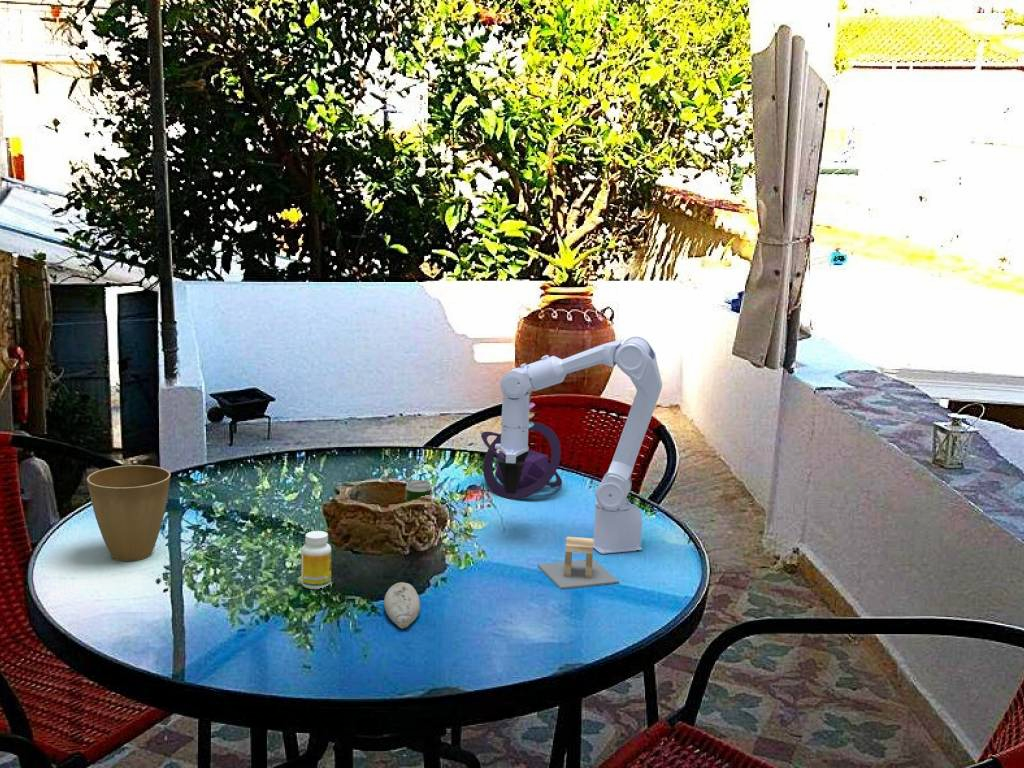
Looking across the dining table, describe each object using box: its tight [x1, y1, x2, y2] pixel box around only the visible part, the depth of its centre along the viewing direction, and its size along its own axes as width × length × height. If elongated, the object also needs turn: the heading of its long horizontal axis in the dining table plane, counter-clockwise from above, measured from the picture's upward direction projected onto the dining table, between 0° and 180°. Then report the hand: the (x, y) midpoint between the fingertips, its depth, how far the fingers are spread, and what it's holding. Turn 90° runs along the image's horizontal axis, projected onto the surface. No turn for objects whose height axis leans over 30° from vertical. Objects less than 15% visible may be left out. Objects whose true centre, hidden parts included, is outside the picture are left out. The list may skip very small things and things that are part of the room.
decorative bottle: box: [480, 391, 563, 500], centre depth 245 cm, size 22×21×25 cm
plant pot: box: [86, 464, 172, 562], centre depth 191 cm, size 15×15×16 cm
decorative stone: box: [383, 582, 421, 629], centre depth 171 cm, size 6×16×3 cm, turn 10°
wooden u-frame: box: [564, 536, 594, 579], centre depth 191 cm, size 5×5×6 cm
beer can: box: [404, 479, 432, 501], centre depth 207 cm, size 5×5×12 cm
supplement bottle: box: [300, 530, 332, 590], centre depth 181 cm, size 5×5×10 cm
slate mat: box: [537, 558, 620, 590], centre depth 192 cm, size 12×12×1 cm
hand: (512, 487), depth 211 cm, fingers open, 7 cm apart
